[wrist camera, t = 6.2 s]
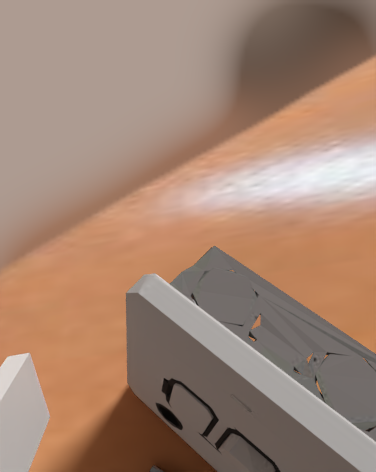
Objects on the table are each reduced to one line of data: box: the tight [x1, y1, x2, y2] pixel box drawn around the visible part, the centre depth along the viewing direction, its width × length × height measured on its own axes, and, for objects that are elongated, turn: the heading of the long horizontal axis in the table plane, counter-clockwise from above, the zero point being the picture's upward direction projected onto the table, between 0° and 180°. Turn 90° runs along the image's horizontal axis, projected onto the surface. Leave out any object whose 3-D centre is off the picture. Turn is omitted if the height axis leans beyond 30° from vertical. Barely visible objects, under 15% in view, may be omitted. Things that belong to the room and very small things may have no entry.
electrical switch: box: [126, 246, 376, 472], centre depth 13 cm, size 9×5×9 cm, turn 51°
